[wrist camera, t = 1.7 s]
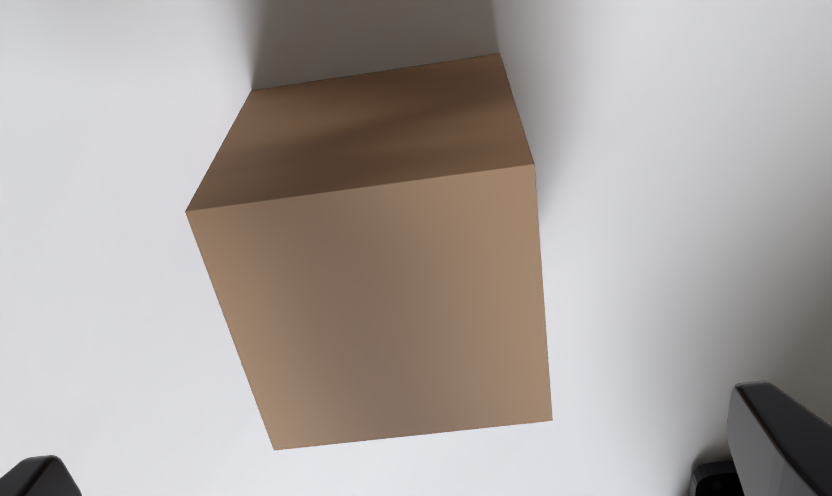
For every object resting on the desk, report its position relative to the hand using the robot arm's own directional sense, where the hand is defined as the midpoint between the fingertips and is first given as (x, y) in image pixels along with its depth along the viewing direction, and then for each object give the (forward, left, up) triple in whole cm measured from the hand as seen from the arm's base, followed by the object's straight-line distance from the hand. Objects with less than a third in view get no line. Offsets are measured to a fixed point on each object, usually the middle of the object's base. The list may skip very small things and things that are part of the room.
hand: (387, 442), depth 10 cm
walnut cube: (0, 0, -7) cm, 7 cm away
